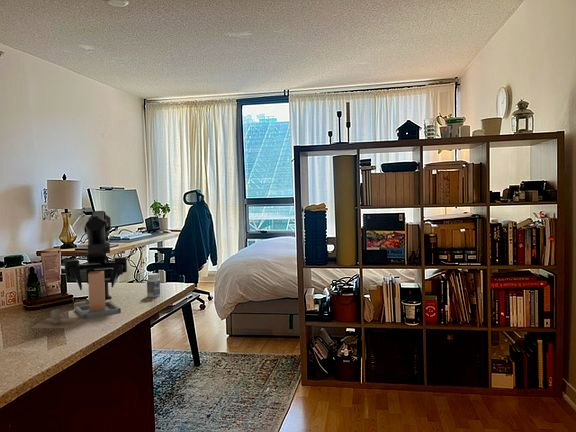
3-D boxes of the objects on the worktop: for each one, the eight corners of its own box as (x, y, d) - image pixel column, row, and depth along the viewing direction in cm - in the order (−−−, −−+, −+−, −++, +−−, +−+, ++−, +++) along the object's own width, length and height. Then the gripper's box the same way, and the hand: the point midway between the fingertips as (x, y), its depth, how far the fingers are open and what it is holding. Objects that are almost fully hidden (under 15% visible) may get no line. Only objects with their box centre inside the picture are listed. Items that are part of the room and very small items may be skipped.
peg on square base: (48, 320, 134) (47, 306, 133) (80, 320, 134) (80, 305, 134) (29, 331, 124) (28, 315, 123) (64, 330, 124) (64, 315, 124)
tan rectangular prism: (90, 310, 142) (88, 271, 141) (105, 308, 144) (104, 270, 143) (89, 315, 136) (87, 275, 135) (105, 313, 138) (103, 274, 137)
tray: (75, 312, 142) (75, 306, 142) (110, 306, 149) (110, 301, 149) (84, 321, 133) (83, 314, 132) (120, 314, 139) (120, 308, 139)
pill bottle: (156, 297, 161) (155, 275, 161) (144, 297, 162) (144, 274, 162) (162, 294, 166) (161, 272, 165) (151, 294, 167) (150, 272, 166)
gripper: (64, 236, 139) (61, 276, 130) (125, 233, 146) (127, 271, 137) (67, 256, 147) (65, 296, 138) (126, 253, 154) (127, 290, 144)
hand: (96, 288), depth 139 cm, fingers open, 9 cm apart
